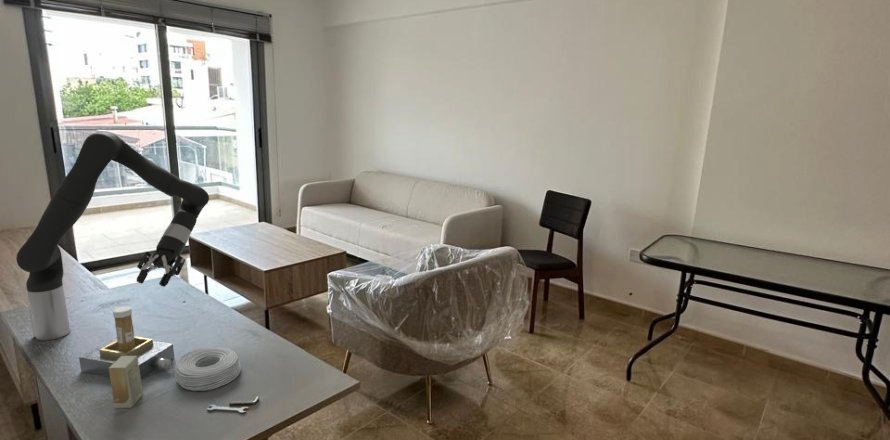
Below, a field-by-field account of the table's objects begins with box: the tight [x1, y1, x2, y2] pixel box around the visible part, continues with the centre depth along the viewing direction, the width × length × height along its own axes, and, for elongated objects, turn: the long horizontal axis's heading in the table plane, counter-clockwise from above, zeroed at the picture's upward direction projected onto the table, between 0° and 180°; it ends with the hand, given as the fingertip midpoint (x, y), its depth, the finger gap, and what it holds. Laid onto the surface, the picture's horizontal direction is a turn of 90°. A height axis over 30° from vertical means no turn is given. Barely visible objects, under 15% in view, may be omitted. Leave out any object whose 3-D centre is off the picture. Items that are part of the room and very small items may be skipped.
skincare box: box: [109, 356, 144, 409], centre depth 128 cm, size 6×4×12 cm
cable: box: [173, 346, 242, 392], centre depth 142 cm, size 18×18×6 cm
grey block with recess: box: [78, 335, 175, 381], centre depth 145 cm, size 24×14×7 cm, turn 78°
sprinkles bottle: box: [112, 306, 136, 353], centre depth 144 cm, size 5×5×13 cm
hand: (150, 284), depth 152 cm, fingers open, 8 cm apart
